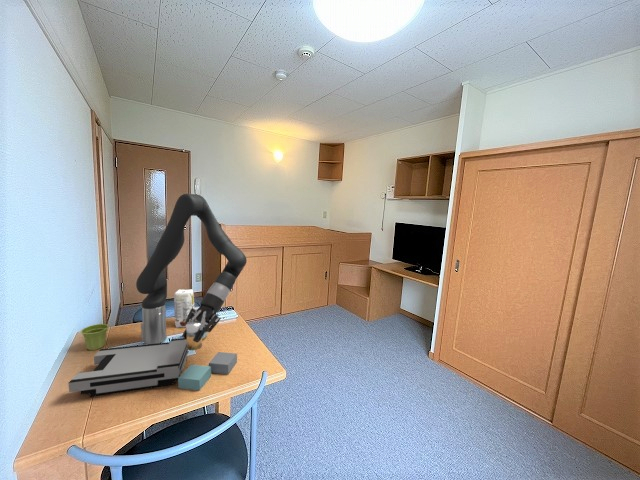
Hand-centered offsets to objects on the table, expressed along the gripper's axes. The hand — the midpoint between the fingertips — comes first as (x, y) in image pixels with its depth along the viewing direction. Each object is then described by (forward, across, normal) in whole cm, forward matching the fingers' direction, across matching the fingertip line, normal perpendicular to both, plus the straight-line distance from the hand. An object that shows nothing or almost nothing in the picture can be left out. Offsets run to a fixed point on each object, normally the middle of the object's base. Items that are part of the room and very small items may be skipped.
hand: (189, 339), depth 94 cm
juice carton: (-9, -44, +34) cm, 56 cm away
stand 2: (+3, +2, +22) cm, 22 cm away
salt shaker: (+1, 0, +4) cm, 4 cm away
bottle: (-5, -25, +30) cm, 39 cm away
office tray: (+17, -22, +9) cm, 29 cm away
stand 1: (+11, 0, +14) cm, 18 cm away
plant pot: (+15, -58, +10) cm, 61 cm away
